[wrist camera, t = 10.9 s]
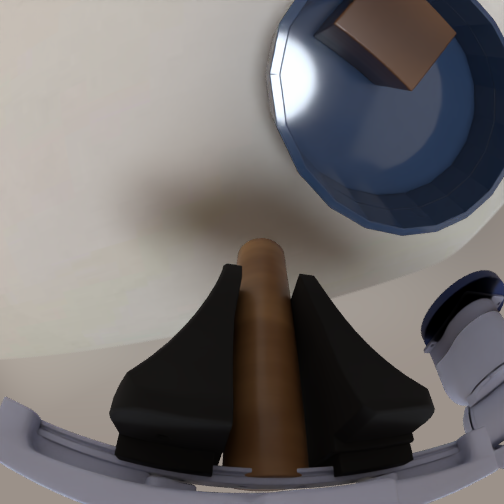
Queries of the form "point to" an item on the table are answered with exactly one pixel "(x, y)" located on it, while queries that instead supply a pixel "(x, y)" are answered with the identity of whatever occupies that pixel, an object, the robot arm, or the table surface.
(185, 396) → the robot arm
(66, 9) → the table surface
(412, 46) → the block
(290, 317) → the rod
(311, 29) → the bowl
